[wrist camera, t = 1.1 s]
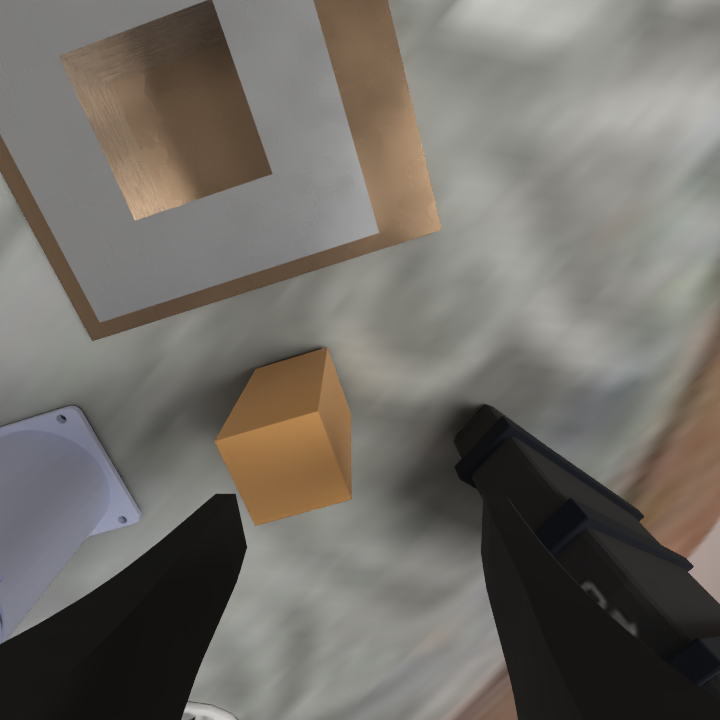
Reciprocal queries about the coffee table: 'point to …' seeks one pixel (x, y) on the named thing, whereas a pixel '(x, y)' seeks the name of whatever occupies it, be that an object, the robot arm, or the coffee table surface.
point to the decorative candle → (205, 712)
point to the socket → (205, 145)
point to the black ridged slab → (598, 544)
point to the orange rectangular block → (290, 439)
